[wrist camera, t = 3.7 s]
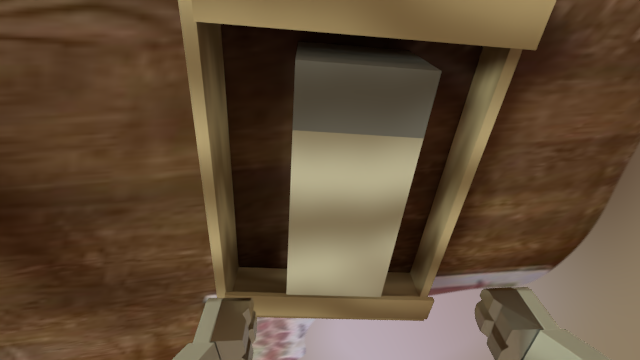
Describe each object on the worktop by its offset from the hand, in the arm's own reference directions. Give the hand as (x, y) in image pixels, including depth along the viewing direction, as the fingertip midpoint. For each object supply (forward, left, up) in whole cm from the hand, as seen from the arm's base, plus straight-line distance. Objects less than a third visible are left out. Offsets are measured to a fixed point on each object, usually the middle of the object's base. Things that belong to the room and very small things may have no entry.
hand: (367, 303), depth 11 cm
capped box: (0, 0, -11) cm, 11 cm away
